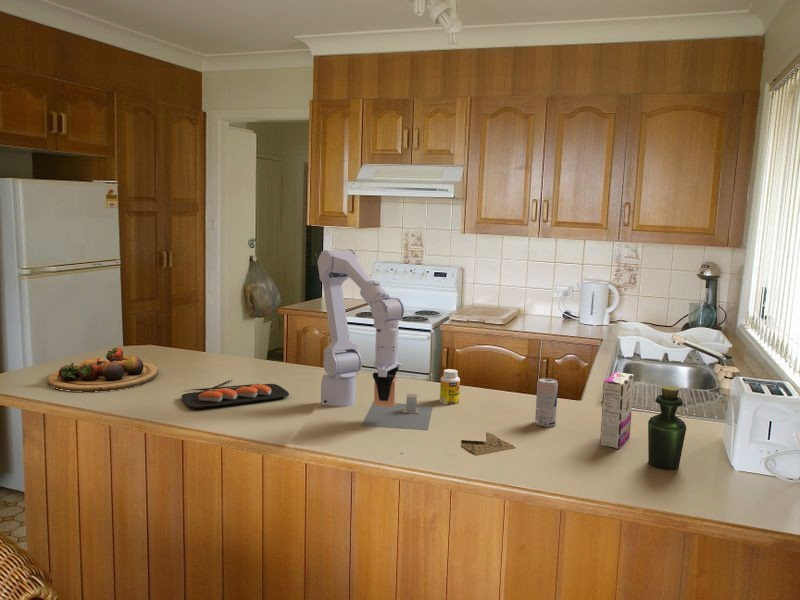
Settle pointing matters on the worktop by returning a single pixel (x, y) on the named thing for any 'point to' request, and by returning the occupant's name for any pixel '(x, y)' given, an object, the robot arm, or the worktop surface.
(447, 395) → the supplement bottle
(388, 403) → the salmon pink block
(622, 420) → the candy bar box
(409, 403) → the post
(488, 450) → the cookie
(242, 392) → the sushi plate
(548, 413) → the energy drink
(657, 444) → the potion bottle
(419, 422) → the mat
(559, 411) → the worktop surface
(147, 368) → the wooden plate with food
